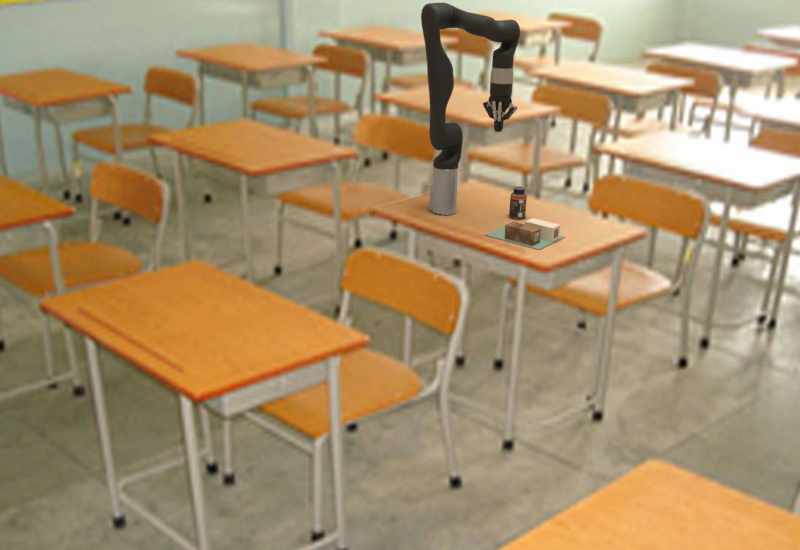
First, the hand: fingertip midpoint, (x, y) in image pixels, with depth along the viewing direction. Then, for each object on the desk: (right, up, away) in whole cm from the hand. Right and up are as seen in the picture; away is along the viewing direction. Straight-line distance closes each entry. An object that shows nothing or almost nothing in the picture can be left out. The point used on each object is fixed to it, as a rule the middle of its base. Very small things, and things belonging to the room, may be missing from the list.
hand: (498, 131), depth 336 cm
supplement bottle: (+9, -28, +25) cm, 39 cm away
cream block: (+11, -32, +7) cm, 35 cm away
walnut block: (+4, -34, +2) cm, 34 cm away
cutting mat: (+10, -36, +5) cm, 38 cm away
